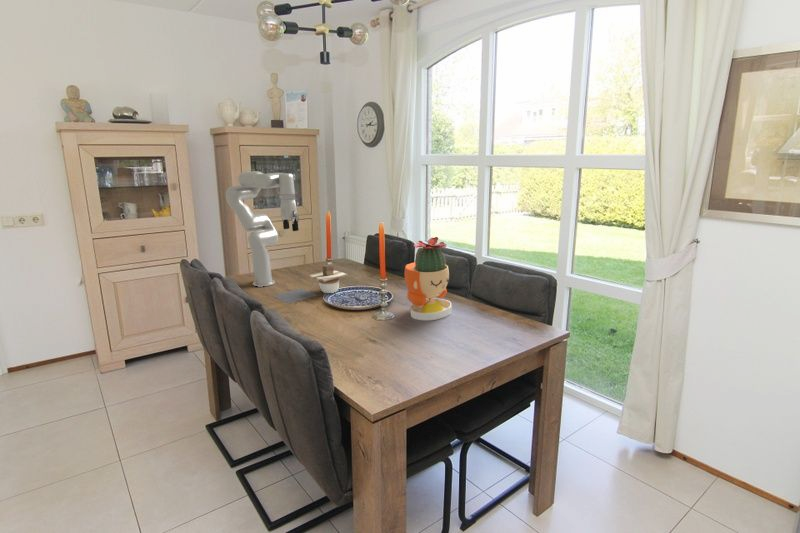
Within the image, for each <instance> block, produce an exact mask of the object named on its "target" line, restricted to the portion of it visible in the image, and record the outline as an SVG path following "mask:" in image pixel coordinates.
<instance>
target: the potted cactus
mask: <svg viewBox="0 0 800 533" xmlns="http://www.w3.org/2000/svg"><path fill="white" fill-rule="evenodd" d="M438 240H439V237H437V236H435V237H430V238H429V239H427V240H426V242H423V240H418V242H416V243H414V244H413V247H415V248H420V249H419V250H417V251H418V252H417V253H416V258H415V260H414V262H411V263H407V264H406V265H405V267H404V275H403V276H404V281H405V285H406V287H407V289H408V290H407V293H406V296H407V300H408V301H409V302H410V303H411V304H412V305H411V306H410V316H411V318H412V319H415V320H418V321H434V320H436V321H437V320H439V319H443V318H445V317H448V316H449V315H450V314H451V313H452V302H451V301H450V300H447V299H443V298H444V297H445V296H447V294H448V290H447V286H448V284H449V281H450V271H449V270H450V269H449V265H447V264H446V260H447V259H446V257H445V256H444V252H443V251H442V250H441V249H442V248H443V249H444V248H447V244H446V243H445V242H444V241H439V243H438Z"/></svg>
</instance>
